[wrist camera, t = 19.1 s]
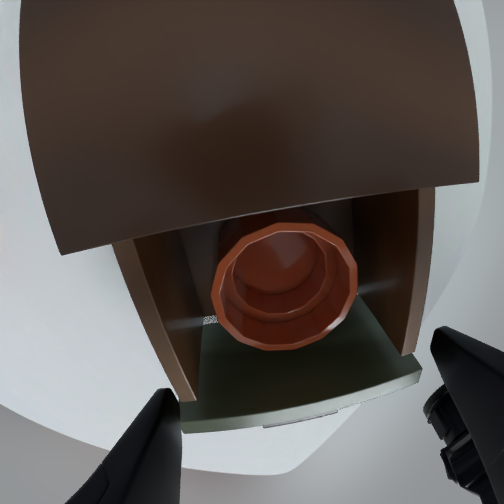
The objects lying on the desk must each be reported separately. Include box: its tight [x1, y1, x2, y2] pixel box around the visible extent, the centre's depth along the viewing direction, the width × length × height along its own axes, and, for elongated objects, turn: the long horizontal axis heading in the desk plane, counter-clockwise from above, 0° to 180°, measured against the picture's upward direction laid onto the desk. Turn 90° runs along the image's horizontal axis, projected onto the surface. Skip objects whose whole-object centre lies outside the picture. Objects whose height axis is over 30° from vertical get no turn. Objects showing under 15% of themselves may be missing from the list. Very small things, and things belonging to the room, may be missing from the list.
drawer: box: [112, 187, 435, 434], centre depth 14 cm, size 18×12×8 cm
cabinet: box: [19, 0, 479, 255], centre depth 9 cm, size 15×14×10 cm
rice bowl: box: [210, 206, 357, 351], centre depth 14 cm, size 6×6×4 cm
